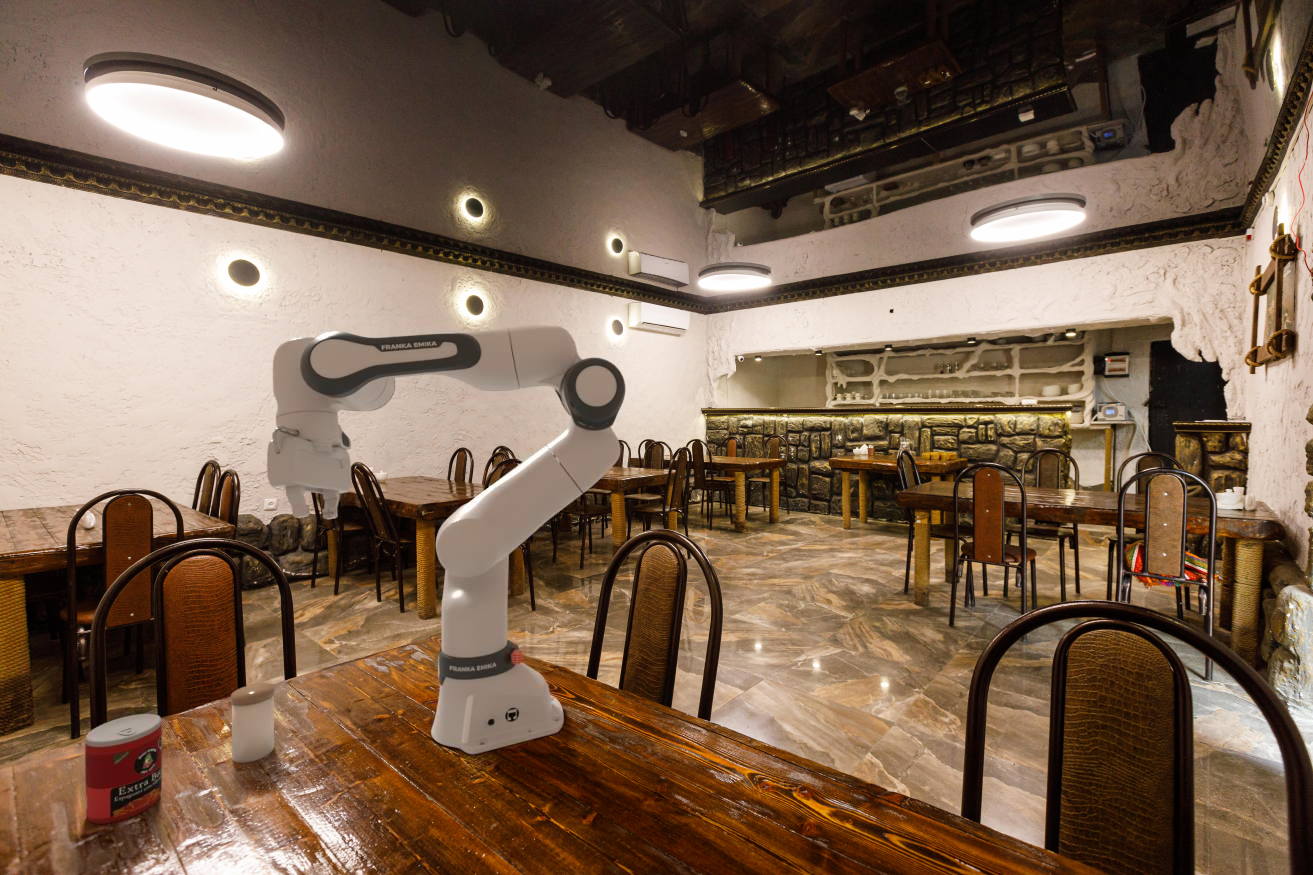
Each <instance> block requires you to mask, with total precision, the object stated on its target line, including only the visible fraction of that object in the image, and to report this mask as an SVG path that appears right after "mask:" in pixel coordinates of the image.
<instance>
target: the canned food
mask: <svg viewBox="0 0 1313 875" xmlns="http://www.w3.org/2000/svg"><path fill="white" fill-rule="evenodd" d="M162 727H163V726H162V718H161V716H160V715H158V714H154V713H153V714H152V713H139V714H131V715H128V716H123V717H120V718H117V719H113V720H110V721H108V722H104V723H103V724H100V725H99V726H96V727H95V728H93V729H91V730H90V731H89V732H88V733H87V734H86V736H85V741H84V742H85V744H84V745H85V747H84V754H85V756H84V758H85V759H84V762H85V764H84V766H85V770H84V772H85V775H84V776H85V777H84V778H85V779H84V780H85V815H86V816H87V819H88V821H89V822H91V823H94V824H112V823H117V822H120V821H123V820H126V819H129V818H132V817H134V816H137V815H139V814H141V813H142V812H145V811H146V810H148V809H149V808H151V807H152V806H153V805H155V803H157V802H158V800H159V798H160V796H161V793H162V786H163V785H162V779H163V778H162V773H163V772H162V771H163V770H162V769H163V768H162V766H163V765H162V764H163V763H162V761H163V760H162V758H163V757H162V756H163V754H162V751H163V750H162V749H163V747H162V746H163V745H162V744H163V741H162V740H163V739H162V738H163V736H162V734H163V731H162V729H163V728H162Z"/></svg>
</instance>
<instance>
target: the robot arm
mask: <svg viewBox="0 0 1313 875" xmlns="http://www.w3.org/2000/svg"><path fill="white" fill-rule="evenodd" d="M574 340H575V339H574V338H573V336H572V334H571V333H570V332H569V331H568V330H567V329H565V328H563V327H561V326H558V325H541V324H540V325H538V324H536V325H518V326H510V327H501V328H495V329H488V330H481V331H480V330H479V331H469V332H468V331H467V332H456V333H454V332H453V333H429V334H416V335H415V334H414V335H400V336H385V337H384V336H383V337H368V336H367V337H366V336H362V335H357V334H354V333H350V332H345V331H330V332H324V333H322V334H321V335H318V336H317V337H309V336H308V337H307V336H306V337H296V338H292V339H289V340H287V341H285V342H283V343H282V344H280V345H279V346H278V347H277V348H276V350H275V352H274V355H273V362H272V388H273V389H272V390H273V395H274V398H275V400H276V404H277V409H276V410H277V411H276V413H275V425H276V428H275V429H274V431H272V434H271V436H272V437H271V440H270V441H269V442H268V445H267V450H266V451H267V452H266V453H267V459H266V471H267V472H266V473H267V474H266V476H267V480H268V482H269V484H270V485H271V487H274V488H280V489H285V496H286V498H287V499H288V502H289V505H290V506H291V509H292V511H291V512H292V517H294V518H299V519H300V518H306V517H309V516H310V505H309V504H307V502H306V498H305V495H304V494H305V493H306V492H308V493H309V492H310V493H315V494H322V498H323V501H324V505H323V506H324V508H322V509H321V512H322V518H323V519H324V520H332V519H336V518H338V517H339V516H338V506H339V502H340V497H341V496H340V494H345V493H349V492H350V489H351V487H352V467H351V465H352V464H351V457H350V454H349V452H348V450H351V449H352V442H351V439H350V437H349V436H348V435H347V434H346V433H345V432H344V430H343V429H342V426H341V425H340V423H339V417H338V413H339V411H352V412H356V411H357V412H369V411H375V410H378V409H381V408H382V407H384V406H386V405H387V404H388V403H389V401H390V400H391V399H392V397H393V396H394V394H395V389H396V380H395V378H403V377H405V378H406V377H415V376H416V377H417V376H425V375H427V376H428V375H438V376H439V375H440V376H445V377H450V378H452V379H456V380H458V381H461V382H463V383H465V384H467V385H470V386H471V387H473V388H475V389H477V390H480V391H484V392H505V391H506V392H508V391H515V390H521V389H528V388H532V387H551V388H553V390H554V391H555V393H556V395H557V397H558V399H559V401H560V403H561V405H562V406H563V409H564V410H565V411H566V413H567V414H568V415H569V416H570V420H569V421H570V422H569V423H568V425H567V427H566V428H565V429H564V430H563V431H562V432H561V433H560V434H559V435H557V436H556V437H555V438H553V439H552V440H551V441H549V442H548V443H547V444H546V445H544V446H542V447H541V448H539V450H537V451H536V452H534V453H533V454H531V456H529V457H527V459H525V460H523V461H522V462H521V463H519V464H518V465H517V466H516V467H514V468H513V469H511V470H510V471H508V472H507V473H506V474H505V475H502V477H501V478H500V479H498V480H497V481H496V482H494V483H493V484H491V485H490V486H489V487H488V488H486V489H485V490H484V491H482V492H481V493H480V494H478V495H477V496H476V497H474V498H473V499H472V500H470V501H469V502H467V503H465V504H463V505H461V506H460V507H458V508H457V509H456V510H455V511H454V512H453V513H452V514H451V515H449V517H448V518H447V519H446V520H444V521H443V523H442V524H441V526H440V527H439V529H438V532H437V535H436V538H435V539H436V540H435V550H436V555H437V558H438V561H439V563H440V565H441V566H442V567H443V569H444V570H445V571H444V572H445V573H444V581H443V582H444V584H443V593H442V600H441V646H440V648H439V651H438V656H437V678H438V683H439V693H438V699H437V700H438V701H437V707H436V713H435V717H434V720H433V724H432V726H431V730H430V733H431V737H432V738H433V739H434V740H435V741H436V742H437V743H439V744H440V745H443V746H448V747H452V748H456V749H460V750H461V751H463V752H464V753H466V754H469V755H475V754H476V755H477V754H481V753H484V752H489V751H492V750H496V749H501V748H503V747H508V746H511V745H515V744H519V743H523V742H527V741H531V740H534V739H538V738H542V737H546V736H550V735H553V734H556V733H559V731H560V730H561V729H562V727H563V725H564V721H565V718H564V710H563V707H562V704H561V702H560V701H559V700H558V698H556V697H555V696H554V695H552V694H551V692H550V688H549V685H548V683H547V680H546V679H545V677H544V676H543V675H542V674H541V673H540V672H539V671H537V670H535V669H534V668H532V667H530V666H529V665H526V664H525V663H524V662H523V661H524V655H523V652H522V650H520V648H519V645H518V644H517V642H516V640H515V639H512V640H509V639H508V596H509V595H508V594H509V592H508V591H509V590H508V589H509V564H510V562H509V561H510V560H509V557H510V554H511V553H512V552H513V551H515V550H516V549H517V548H518V547H520V545H522V544H523V543H524V542H525V541H526V540H528V538H529V537H531V536H532V535H533V534H534V533H535V532H536V531H538V529H540V527H542V526H543V525H544V524H545V523H547V522H548V521H549V520H550V519H551V518H553V517H554V516H555V515H557V514H559V513H560V511H562V510H563V509H564V508H566V507H568V505H570V504H571V503H573V502H574V501H575V500H577V498H579V497H581V495H583V494H584V493H585V492H587V491H588V490H589V489H590V488H592V487H593V486H594V485H595V484H596V483H598V482H599V480H601V478H603V477H604V476H605V475H606V474H607V473H608V471H610V470H611V469H612V467H613V466H614V465H615V464H616V463H617V461H618V460H619V458H620V456H621V445H620V441H619V438H618V436H617V435H616V433H615V432H614V430H613V429H612V426H613V425H614V423H615V421H616V419H617V417H618V413H619V412H620V410H621V407H622V405H623V403H624V399H625V396H626V383H625V378H624V376H623V373H622V372H621V371H620V369H619V367H617V366H616V365H615V364H614V363H612V362H611V361H609V360H607V359H605V358H601V357H588V358H584V359H582V358H581V357H580V355H579V353H578V349H577V345H576V342H575V341H574Z"/></svg>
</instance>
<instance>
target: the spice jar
mask: <svg viewBox="0 0 1313 875" xmlns="http://www.w3.org/2000/svg"><path fill="white" fill-rule="evenodd" d="M275 693H276V686H275V684H273V683H270V682H268V683H267V682H262V683H254V684H253V683H252V684H249V685H246V686H243V687H240V688H238V689H236V690H234V691H233V692H232V693H231V695H230V704H231V759H232V761H233V762H234V763H237V764H239V763H240V764H243V763H249V762H250V763H251V762H254V761H257V760H260V759H262V758H263V759H264V758H265V757H267V756H268V755H270V754H271V753H272V752H273V751H274V749H275V695H276V694H275Z"/></svg>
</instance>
